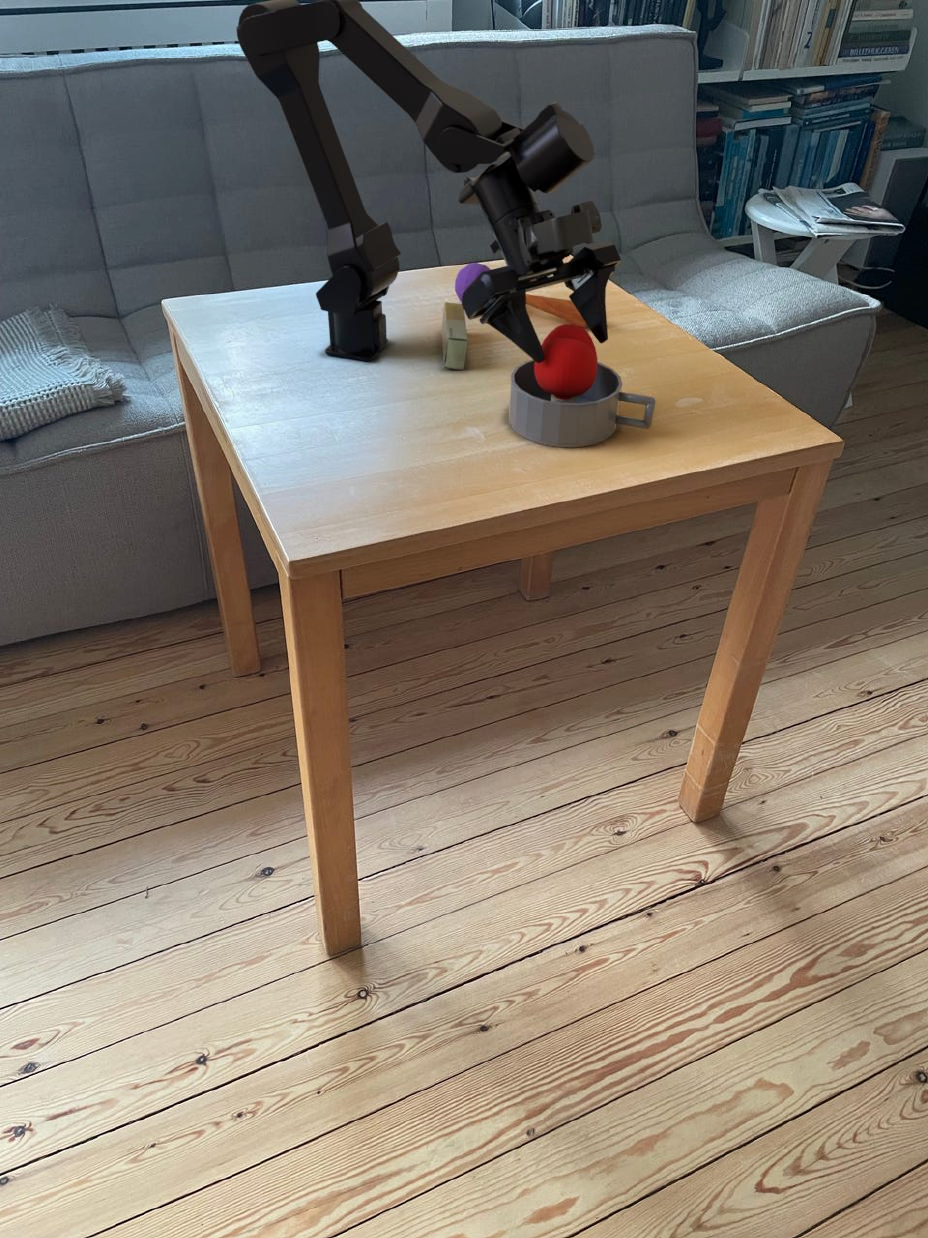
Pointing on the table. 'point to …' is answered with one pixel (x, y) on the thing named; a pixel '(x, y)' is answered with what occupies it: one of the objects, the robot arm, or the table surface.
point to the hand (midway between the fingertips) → (573, 351)
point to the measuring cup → (572, 410)
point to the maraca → (546, 304)
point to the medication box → (454, 336)
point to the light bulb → (567, 363)
